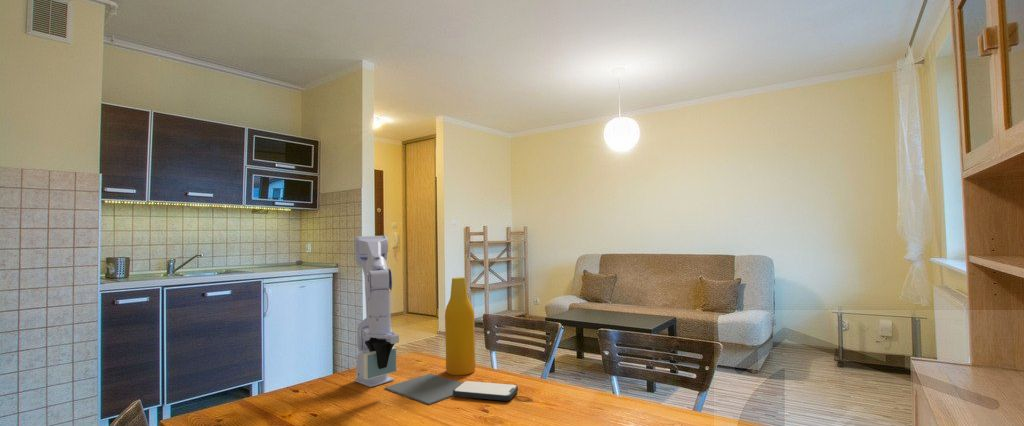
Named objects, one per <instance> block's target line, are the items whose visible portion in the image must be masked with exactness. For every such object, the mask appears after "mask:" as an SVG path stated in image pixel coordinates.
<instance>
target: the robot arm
mask: <svg viewBox="0 0 1024 426" xmlns="http://www.w3.org/2000/svg"><path fill="white" fill-rule="evenodd" d="M388 239H389V238H388V236H386V235H362V236H361V235H360V236H359V235H356V236H355V237H354V256H355V257H354V258H355V262H356V263H355V264H356V266H358V267H361V268H362V272H363V275H364V276H363V277H364V292H365V315H366V316H365V318H364V319H363V320H362V321H360V322H359V323H358V326H357V327H356V328H357V329H356V331H357V332H356V343H357V345H356V346H357V347H356V348H357V350H358V351H359V353H357V356H356V378H355V379H353V381H354V382H356V383H357V384H358V383H359V384H362V385H364V386H366V387H370V388H373V387H376V386H380V385H382V384H383V385H384V384H386V383H389V382H392V381H395V378H394V377H391V376H389V374H386V375H382V376H379V377H375V378H372V379H368V380H366V379H364V353H368V352H373V351H376V355H377V363H378V368H379V369H382V368H386V367H387V364H388V359H389V355H390V352H391V350H392V348H393V347H395V346H394V345H395V344H398V343H400V335H399V334H398V333H397V334H396V333H395V332H393V328H392V314H391V313H392V312H391V310H392V309H391V307H392V305H391V291H392V289H393V273H392V270H391V268H389V267H388V264H387V263H388V262H387V259H388V252H389V241H388Z"/></svg>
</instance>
